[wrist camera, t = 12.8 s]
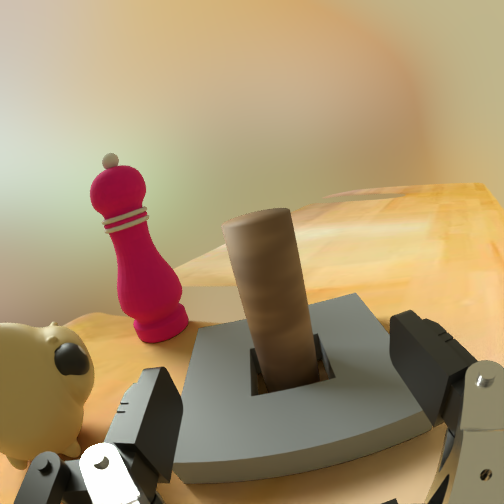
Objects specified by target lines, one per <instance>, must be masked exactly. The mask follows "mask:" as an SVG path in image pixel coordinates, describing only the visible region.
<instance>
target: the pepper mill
mask: <svg viewBox="0 0 504 504" xmlns="http://www.w3.org/2000/svg"><path fill="white" fill-rule="evenodd" d="M118 162H119V159H118V157H117V155H115V154H113V153H109V154H107V155H105V156H104V158H103V160H102V164H103V166H104V168H105V169H107V170H105V171H103V172H102V173H100V174H99V175H98V176H97V177H96V178H95V179H94V181H93V183H92V185H91V190H90V198H91V203H92V206H93V207H94V209H95V210H96V211H97V212H99V213H100V214H102V215H103V217H104V218H105V220H103V221H102V224H103V225H105V226H104V228H105V233H109V235H110V237H111V239H112V242H113V244H114V248H115V251H116V255H117V263H118V279H117V281H118V282H117V291H118V299H119V302H120V305H121V309H122V310H123V311H124V313H125V314H127V315H128V316H130V317H132V318H134V319H135V320H134V324H133V325H134V328H135V330H136V332H137V335H138V337H139V339H141V340H142V341H144V342H148V343H155V342H161V341H165V340H167V339H170V338H172V337H174V336H176V335H177V334H179V333H180V332H181V331H183V330H184V329H185V328H186V326H187V325H188V316H187V314H186V311H185V308H184V306H183V305H182V304H180V303H179V300H180V298H181V295H182V286H181V283H180V281H179V279H178V277H177V275H176V273H175V272H174V270H173V269H172V268H171V267H170V266H169V265H168V263H167V262H166V261H165V260H164V259H163V258H162V257H161V255H160V254H159V252H158V251H157V249H156V247H155V246H154V244H153V242H152V239H151V237H150V234H149V231H148V226H147V221H146V220H148V219H149V216H148V215H147V212H146V210H147V208H146V207H142V201H143V199H144V196H145V193H146V185H145V182H144V179H143V177H142V175H141V174H140V173H139V171H138V170H136V169H135V168H132V167H130V166H117V165H118Z"/></svg>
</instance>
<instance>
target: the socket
mask: <svg viewBox="0 0 504 504" xmlns="http://www.w3.org/2000/svg"><path fill="white" fill-rule="evenodd" d="M308 308H309V314H310V320H311V326H312V332H313V338H314V345H315V351H316V358H317V360H321V359H322V362H323V365H324V367H325V370H326V373H327V375H328V378H329V380H325V381H321V382H317V383H313V384H309V385H305V386H301V387H296V388H292V389H287V390H282V391H278V392H273V393H267V394H262V395H258V378H257V374H259V373H262V371H261V367H260V364H259V361H258V357H257V354H256V350H255V347H254V343H253V340H252V337H251V333H250V330H249V326H248V323H247V319H245V320H239V321H235V322H229V323H224V324H219V325H214V326H208V327H203V328H199V329H198V333H197V337H196V340H195V344H194V348H193V352H192V356H191V359H190V363H189V367H188V371H187V375H186V379H185V383H184V387H183V391H182V395H181V399H182V402H183V416H182V421H181V426H180V431H179V436H178V441H177V447H176V452H175V457H174V462H173V468H172V470H173V471H174V473H175V474H176V475H177V476H178V477H179V478H180V479H181V480H182V481H183V483H184V484H201V483H226V482H240V481H250V480H259V479H267V478H274V477H280V476H286V475H292V474H297V473H302V472H307V471H312V470H316V469H320V468H325V467H329V466H333V465H336V464H340V463H344V462H347V461H351V460H354V459H357V458H360V457H363V456H367V455H370V454H373V453H375V452H378V451H381V450H384V449H387V448H389V447H392V446H394V445H397V444H399V443H402V442H404V441H407V440H409V439H411V438H414V437H416V436H418V435H421V434H423V433H425V432H427V431H429V430H431V428H432V424H431V422H430V421H429V419H428V418H427V416H426V414H425V413H424V411H423V410H422V408H421V407H420V405H419V404H418V402H417V401H416V399H415V398H414V396H413V395H412V393H411V392H410V390H409V389H408V387H407V386H406V384H405V383H404V381H403V380H402V378H401V377H400V375H399V374H398V372H397V371H396V369H395V368H394V366H393V364H392V362H391V359H390V354H389V344H390V335H389V334H388V332H387V331H386V330H385V329H384V327H383V326H382V325H381V323H380V322H379V321H378V320H377V318H376V317H375V316H374V315H373V313H372V312H371V311H370V310H369V308H368V307H367V306H366V305H365V304H364V302H363V301H362V300H361V299H360V297H359V296H358V295H357V294H356V293H353V294H349V295H345V296H342V297H338V298H334V299H330V300H326V301H322V302H318V303H314V304H310V305H308Z"/></svg>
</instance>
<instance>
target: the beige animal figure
mask: <svg viewBox="0 0 504 504" xmlns="http://www.w3.org/2000/svg"><path fill="white" fill-rule="evenodd" d="M93 384H94V366H93V363H92V360H91V357H90V355H89V352H88V350H87V348H86V346H85V344H84V343H83V341H82V340H81V338H80V337H79V336H78V335H77V334H76V333H75V332H74V331H72V330H71V329H68V328H66V327H62V326H58V324H57V323H56V322H52V323H51V324H50V326H49V327H44V328H37V327H31V326H28V325H23V324H17V323H0V452H1V453H3V454H5V455H6V456H7V458H8V460H9V462H10V463H11V464H12V465H13V466H14V467H15V468H17V469H19V470H24V469H25V468H26V467H27V464H28V460H29V461H33V459H34V458H35V457H36V456H37V455H39V454H40V453H43V452H47V451H51V452H54V453H56V454H59V453H61V454H64V455H66V456H68V457H71V458H76V457H78V456H79V455H80V454H81V447H80V445H79V443H78V442H77V436H78V434H79V432H80V430H81V427H82V423H83V415H84V409H83V406H84V403H85V402H86V400H87V399H88V397H89V395H90V393H91V391H92V388H93Z"/></svg>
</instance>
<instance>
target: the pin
mask: <svg viewBox="0 0 504 504" xmlns="http://www.w3.org/2000/svg"><path fill="white" fill-rule="evenodd" d="M221 228H222V231H223V235H224V239H225V243H226V246H227V250H228V254H229V258H230V261H231V265H232V269H233V272H234V276H235V280H236V283H237V287H238V290H239V294H240V298H241V301H242V305H243V308H244V312H245V316H246V319H247V323H248V326H249V330H250V333H251V337H252V340H253V343H254V347H255V350H256V354H257V357H258V361H259V364H260V367H261V371H262V374H263V378H264V381H265V384H266V388H267V391H268V393H273V392H278V391H282V390H287V389H292V388H296V387H301V386H305V385H309V384H313V383H317V382H320V379H319V372H318V365H317V358H316V351H315V345H314V338H313V332H312V326H311V320H310V314H309V308H308V302H307V296H306V291H305V285H304V280H303V274H302V269H301V263H300V258H299V253H298V248H297V243H296V238H295V233H294V228H293V223H292V218H291V213H290V210H289V209H287V208H275V209H267V210H261V211H257V212H252V213H249V214H245V215H241V216H238V217H236V218H233V219H230V220H228V221H226V222H224V223H223V224H222V225H221Z"/></svg>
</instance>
